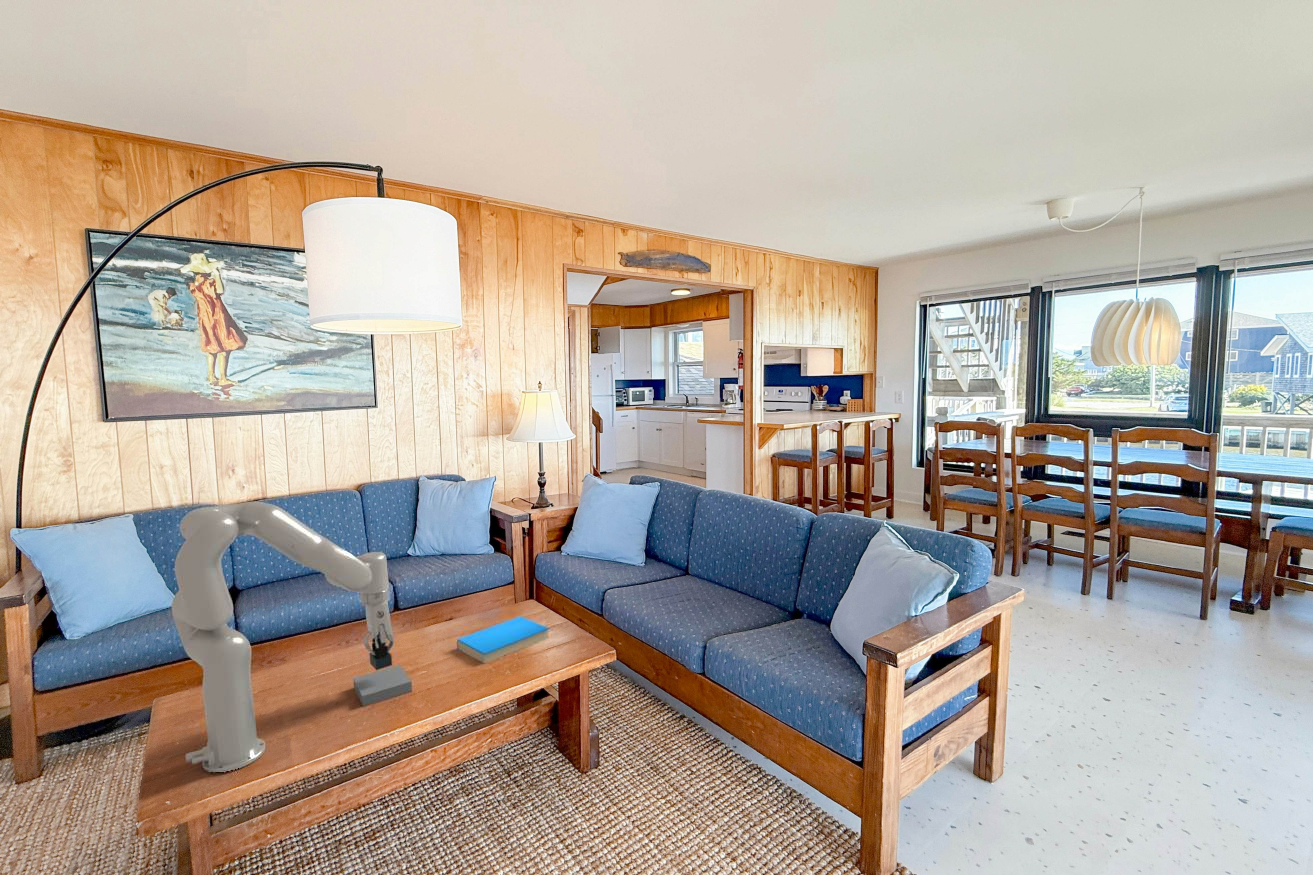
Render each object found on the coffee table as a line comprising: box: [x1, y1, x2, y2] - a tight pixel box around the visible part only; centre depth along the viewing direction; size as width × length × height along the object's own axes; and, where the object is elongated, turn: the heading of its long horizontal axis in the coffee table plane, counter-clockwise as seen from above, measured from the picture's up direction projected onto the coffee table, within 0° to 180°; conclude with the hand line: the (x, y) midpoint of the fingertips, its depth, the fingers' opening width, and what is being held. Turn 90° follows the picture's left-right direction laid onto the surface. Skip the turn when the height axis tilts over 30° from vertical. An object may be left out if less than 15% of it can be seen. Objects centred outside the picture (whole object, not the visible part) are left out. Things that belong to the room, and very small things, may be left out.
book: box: [456, 615, 549, 665], centre depth 209 cm, size 17×4×25 cm
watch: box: [363, 631, 396, 671], centre depth 179 cm, size 6×8×11 cm
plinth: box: [352, 664, 413, 707], centre depth 180 cm, size 13×13×3 cm
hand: (380, 656), depth 180 cm, fingers closed on watch, 3 cm apart
